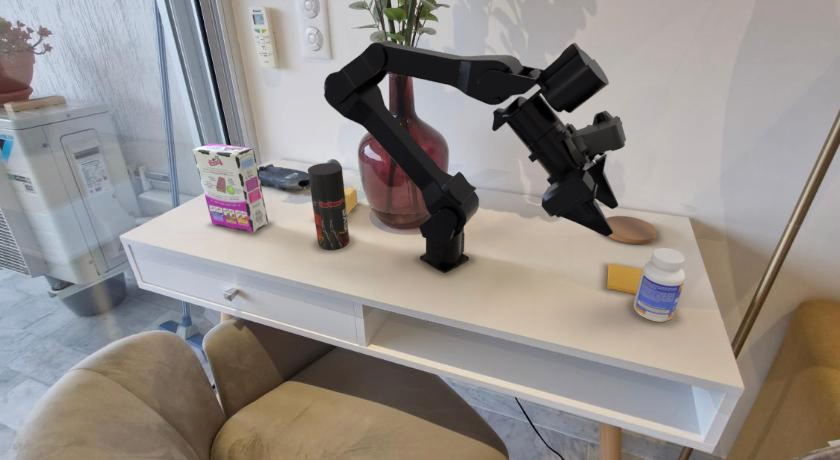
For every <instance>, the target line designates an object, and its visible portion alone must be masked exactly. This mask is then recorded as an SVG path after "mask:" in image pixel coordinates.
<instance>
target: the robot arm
mask: <svg viewBox="0 0 840 460" xmlns="http://www.w3.org/2000/svg"><path fill="white" fill-rule="evenodd" d="M389 73H392V74H395V75H400V76H405V77H409V78H414V79H419V80H424V81H428V82H432V83H437V84H441V85H446V86H450V87H453V88H455V89H457V90H458V91H459V92H462V93H463V94H464V95H465V96H467V97H470V98H472V99H474V100H477V101H479V102H481V103H483V104H485V105H489V106H497V105H501V104H503V103H504V102H506V101H507V100H509V99H510V98H511V97H513V96H518V97H516V98H515V99H514V100H513V101H512V102H510V104H508V105H507V106H506V107H505V108H502V107H498V108H496V109H495V110H493V112H492V115H493V119H492V120H493V121H492V126H491V130H492V131H493V132H497V131H498V130H500V128H502V127H503V126H504V125H505V124H507V125H508V127H509V128H510V129H511V130H512V132H513V133H514V134H515V136H516V137H517V138H518V139H519V140H520V142H521V143H522V144H523V145H524V147H525V148H526V149H527V150H528V151H529V155H528V156H527V157H528V159H529V160H530V162H531V163H534V162H536V161H537V162H538V163H539V165H540V166H541V168H543V170H544V171H545V173H547V175H548V177H547V178H546V181H547V183H549V186H548V187H547V188H546V190H545V192H543V193H544V194H543V195H542V197H541V205H540V206H541V208H542V209H543V210H544V211H545V212H546V214H547V215H548V216H549V217H550V218H552V217H554V216H555V217H556V218H558V219H559V218H562V219H565V220H568V221H570V222H573V223H575V224H578V225H580V226H582V227H584V228H586V229H589V230H591V231H593V232H595V233H597V234H599V235H601V236H604V237H607V238H608V236H609V235H611V234H613V230H612V228H611V226H610V224H609V222H608V221H607V219H606V218H607V217H606V216H605V214H604V212H603V210H602V209H601V207H600V205H599V204H598V202H599V203H601V204H603V205H604V206H606V207H607V208H609V209H611V210H614V209H616V208H618V206H619V202H618V200H617V197H616V195H615V194H614V191H613V188H612V186H611V184H610V182H609V179H608V177H607V174H606V171H605V166H606V161H607V157H608V154H607V153H606V152H609V151H611V152H615V151H619V150H620V149H621V150H622V149H623V148H624V147H625V146H626V141H627V137H626V134H625V131H624V128H623V121H622V120H621V117H620V116H618V115H615V116H613V115H612V114H611V113H609V111H608V110H603V111H600V112H597V113H595V114H594V116H593V120H592V124H586V126H585V127H583V128H579V129H577V128H576V127H575V126H574V125H573V123H569V122H567V123H566V124H564V122H563V120H561V119H560V117H559V116H558V115H557V114H556V113H562V112H566V113H567V114H572V113H573V112H574V111H576V110H577V109H578V108H580V107H581V106H582V105H583V104H584V103H586V102H587V101H588V100H590V99H591V98H593V97H594V96H595V95H596V94H598V93H599V92H600V91H602V90H603V89H604V88H606V87H607V86H609V84H610V82H609V78H608V77H607V74H606V73H605V71H604V69H602V67H601V65H600V64H599V63H598V62H597V61H596V59H595V58H592V57H590V55H589V54H588V53H586V51H584V50H583V49H581V48H580V46H579V45H578V43H576V42H572V43H571V44H570V45H569V46H567V47H566V48H565V49H563V51H562V53H560V55H559V56H558V57H557V58H556V59H555V60H553V61H552V63H550V64H549V65H548V66H547V67H546V68H545V69H542V68H538V67H532V66H527V65H523V64H522V63H521V61H520V59H519V58H517V57H515V56H513V55H510V54H483V55H457V54H452V53H447V52H442V51H437V50H433V49H427V48H421V47H416V46H411V45H408V44H407V45H406V44H401V43H396V42H394V41H393V40H381V41H376V42H372V43H370V44H369V45H368V47H366V49H364V50H363V51H362V52H361V53H360V54H359V55H358V56H357V57H355V58H354V59H353V60H350V61H349V62H348V63H347V64H346V65H344V66H343V67H342V68H340V69H339V70H338V71H333V72H331V73H329V74H328V75H327V76H326V78H325V80H324V83H323V91H324V92H323V97H324V99H325V101H326V103H327V104H328V105H329V106H330V107H331V108H332V109H334V110H335V111H336V112H337V113H339V114H340V115H341V116H342V117H343V118H345V119H347V120H349V121H352V122H353V123H355V124H358V125H360V126H362V127H363V128H364V129H365V130H366V131H367V133H368V134H369V135H371V137H372V138H373V139H374V140H375V141H376V142H377V144H378V145H379V146H380V147H381V148H382V149H383V150H384V151H385V152H386V154H387V155H388V156H389V157H390V158H391V159H392V160H393V162H395V164H396V165H397V166H398V167H399V168H400V169H401V171H402V172H403V173H404V174H405V175H406V176H407V177H408V178H409V179H410V181H411V182H412V183H413V184H414V185H415V186H416V187H417V188H418V189H419V191H420V193H421V195H422V199H423V204H424V206H425V210H426V211H427V213H428V214H429V216H428V217H427V218H425V220H424V221H423V222H421V224H420V225H418V228H419V231H420V234H421V237H422V238H423V239H425V253H424V254H421V255H420V256H419V260H420V261H422V262H424V263H425V264H427V265H429V266H431V267H432V268H433V269H435V270H437V271H439V272H441V273H443V274H446V273H449V272H450V271H452V270H454V269H457V268H458V267H460V266H461V265H463V264H465V263H467V262H469V261H470V256H468V255H466V254H465V237H466V236H465V226H466V225H467V224H468V222H469V221H470V220H471V219H472V218H473V217H474V216H475V215H476V213H477V212H478V210H479V207H480V198H479V196H478V194H477V193H476V190H477V187H476V186H475V185H472V184H471V183H470V182H469V181H468V180H467V177H466V176H465V175H464V173H462V172H461V171H458V172H457V173H455V174H454V175H451V174H449V173H447V172H445V171H444V170H442V169H441V167H440V166H439V165H438V164H437V163H436V162H435V161H434V159H433V158H432V157H431V156H430V155H429V154H428V153H427V151H425V149H424V148H423V147H422V146H421V145H420V144H419V143H418V142H417V140H416V139H415V138H414V137H413V136H412V135H411V134H410V133H409V132H408V130H407V129H406V128H405V127H404V126H403V125H402V124H401V122H400V121H399V120H398V119H397V118H396V117H395V115H394V114H393V113H392V112H391V111H390V110H389V109H388V108H387V106H386V104H385V100H384V97H383V94H382V90H381V88H380V87H379V84H380V83H381V82H382V81H384V79H385V78H386V77H387V75H388V74H389ZM536 86H538V87H539V89H538V90H537V91H535V92H534V93H533V94H532V95H531V96H529V98H526V97H525V96H521V95H525V94H526V93H528V92H529V91H531V90H532V89H534V87H536ZM555 112H556V113H555ZM597 156H599V157H597Z"/></svg>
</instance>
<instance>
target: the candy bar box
mask: <svg viewBox="0 0 840 460" xmlns="http://www.w3.org/2000/svg"><path fill="white" fill-rule="evenodd" d="M192 153H193V157H194V161H195V165H196V169H197V172H198V176H199V179H200V183H201V186H202V187H201V188H202V190H203V194H204V198H205V202H206V206H207V209H208V213H209V216H210V221H211V224H212V225H213V226H216V227H217V226H218V227H220V228H221V227H222V228H227V229H232V230H237V231H240V232H241V231H242V232H245V233H246V232H247V233H251V234H254V233H257V232H258V231H259V230H261V229H263V228H264V227H266V226H267V225H269V218H268V213H267V207H266V203H265V199H264V193H263V189H262V184H261V183H260V178H259V173H258V170H259V167H258V163H257V159H256V158H257V157H256V153H255V149H254V147H247V146H237V145H231V144H222V143H213V142H212V143H211V142H210V143H207V144H204V145H201V146H198V147H195V148H193V149H192Z"/></svg>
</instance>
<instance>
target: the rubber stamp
mask: <svg viewBox="0 0 840 460" xmlns="http://www.w3.org/2000/svg"><path fill="white" fill-rule="evenodd" d="M325 163H335V164H339V165H341V163H340V161H338V160H337V159H334V158H331V159H328V160H327V161H326V162H325ZM341 166H342V165H341ZM344 192H345V202H346V212H347V216H348V215H349V213H350V212H352V210H353V209H354V207H355V206H357V204H358V202H359V201H358V192H357V189H356V188H348V187H344Z"/></svg>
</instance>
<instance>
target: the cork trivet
mask: <svg viewBox="0 0 840 460" xmlns="http://www.w3.org/2000/svg"><path fill="white" fill-rule="evenodd" d="M606 219H607V221H608V222H609V224H610V226H611V228H612V230H613V234H611V235H609V236H607V238H611V239H612V240H614V241H617V242H620V243H624V244H629V245H646V244H647V245H648V244H650V243H653V242H654V241H655V240H656V238H657V235H658V230H657V228H656V227H655V226H654V225H653V224H651V223H650V222H648V221H646V220H643V219H640V218H637V217H633V216H627V215H614V216H609V217H606Z"/></svg>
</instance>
